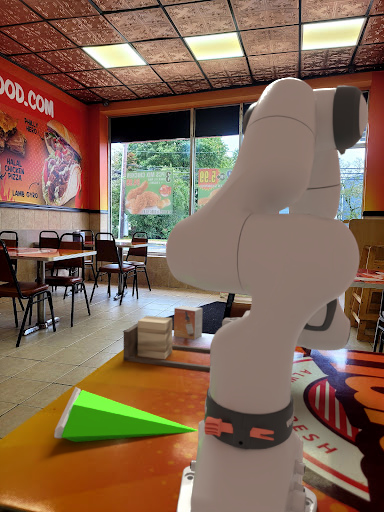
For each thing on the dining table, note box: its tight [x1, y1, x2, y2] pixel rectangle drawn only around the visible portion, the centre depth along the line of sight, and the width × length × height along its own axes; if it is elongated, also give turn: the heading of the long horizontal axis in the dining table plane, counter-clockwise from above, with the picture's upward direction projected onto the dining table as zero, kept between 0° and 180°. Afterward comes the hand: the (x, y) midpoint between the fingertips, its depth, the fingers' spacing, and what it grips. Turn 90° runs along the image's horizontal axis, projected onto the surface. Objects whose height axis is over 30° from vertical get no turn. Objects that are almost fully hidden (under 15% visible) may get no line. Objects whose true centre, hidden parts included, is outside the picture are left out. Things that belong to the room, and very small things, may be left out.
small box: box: [173, 305, 203, 340], centre depth 119 cm, size 8×6×10 cm
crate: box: [137, 315, 174, 360], centre depth 101 cm, size 6×8×10 cm
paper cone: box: [53, 386, 198, 443], centre depth 65 cm, size 11×5×25 cm
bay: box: [123, 322, 210, 372], centre depth 100 cm, size 14×24×9 cm, turn 74°
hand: (223, 322), depth 92 cm, fingers closed
